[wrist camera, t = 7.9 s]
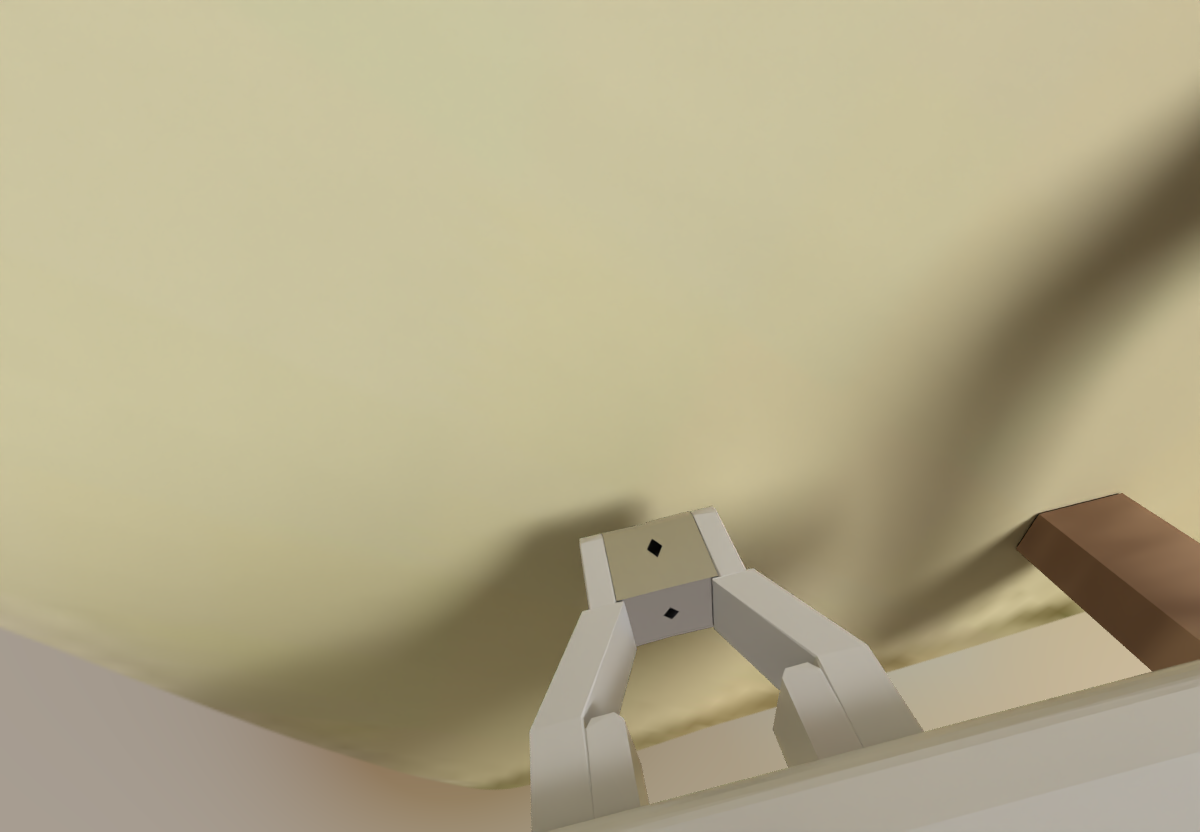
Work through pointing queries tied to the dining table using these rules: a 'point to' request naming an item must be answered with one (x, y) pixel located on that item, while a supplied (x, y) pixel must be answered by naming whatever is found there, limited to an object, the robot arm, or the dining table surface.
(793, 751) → the robot arm
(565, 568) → the dining table surface
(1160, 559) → the bridge
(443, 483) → the dining table surface
